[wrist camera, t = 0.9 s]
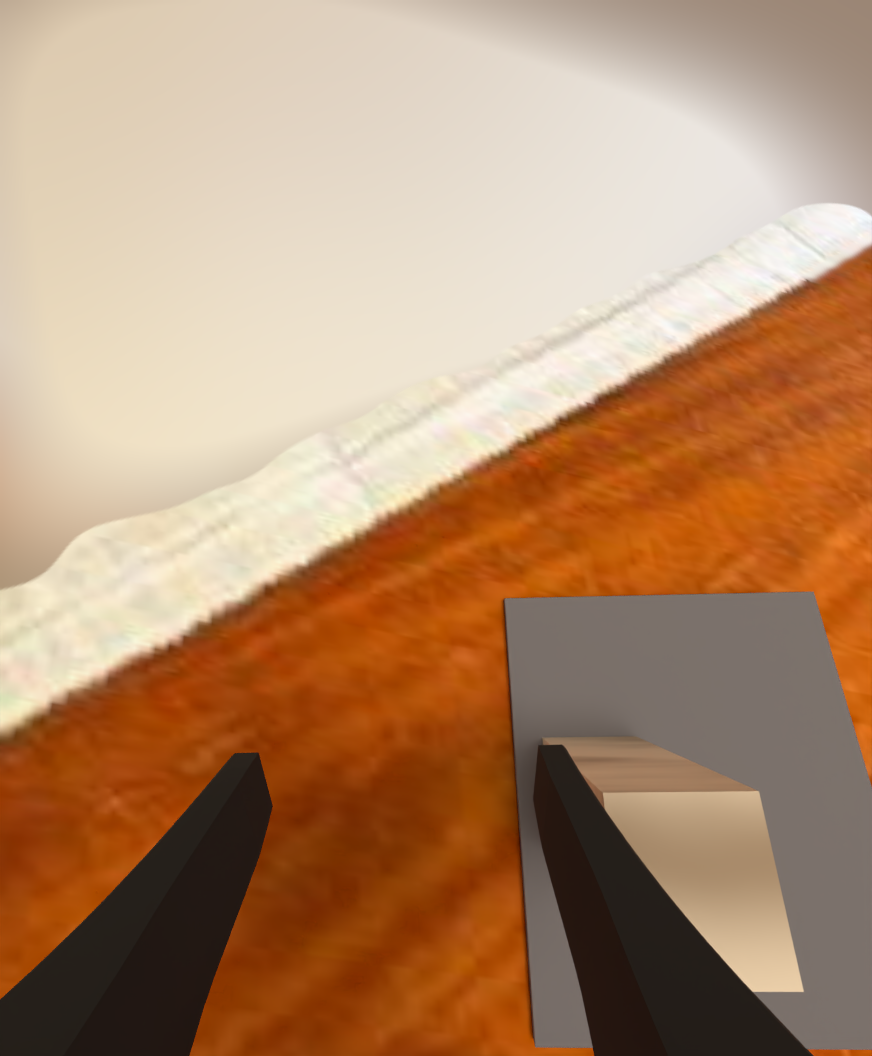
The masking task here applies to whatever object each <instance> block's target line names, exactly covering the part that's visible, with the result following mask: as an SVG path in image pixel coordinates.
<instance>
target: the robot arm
mask: <svg viewBox="0 0 872 1056" xmlns="http://www.w3.org/2000/svg"><path fill="white" fill-rule="evenodd" d="M533 802H534V808H535V813H536V819H537V825H538V830H539V835H540V840H541V846H542V850H543V853H544V857H545V861H546V865H547V868H548V872H549V875H550V879H551V883H552V886H553V890H554V894H555V897H556V901H557V904H558V908H559V912H560V915H561V919H562V922H563V926H564V930H565V933H566V937H567V940H568V944H569V948H570V951H571V955H572V958H573V962H574V966H575V970H576V974H577V978H578V982H579V986H580V990H581V994H582V998H583V1003H584V1008H585V1013H586V1017H587V1022H588V1027H589V1032H590V1037H591V1041H592V1046H593V1051H594V1056H813V1055H812V1054H811V1053H810V1052H809V1051H808V1050H807V1049H806V1048H805V1047H804V1046H803V1045H802V1043H801V1042H800V1041H799V1040H798V1039H797V1038H796V1037H795V1036H794V1035H793V1034H792V1033H791V1032H790V1031H789V1030H788V1029H787V1028H786V1027H785V1025H784V1024H783V1023H782V1022H781V1021H780V1020H779V1019H778V1018H777V1017H776V1016H775V1015H774V1014H773V1013H772V1012H771V1011H770V1010H769V1009H768V1008H767V1006H766V1005H765V1004H764V1003H763V1002H762V1001H761V1000H760V999H759V998H758V997H757V996H756V995H755V994H754V993H753V992H752V991H751V990H750V988H749V987H748V986H747V985H746V984H745V983H744V982H743V981H742V980H741V979H740V978H739V977H738V976H737V974H736V973H735V972H734V971H733V970H732V969H731V968H730V967H729V965H728V964H727V963H726V962H725V961H724V960H723V959H722V958H721V956H720V955H719V954H718V953H717V952H716V951H715V950H714V949H713V947H712V946H711V945H710V944H709V943H708V942H707V941H706V939H705V938H704V937H703V936H702V935H701V934H700V932H699V931H698V930H697V929H696V928H695V926H694V925H693V924H692V923H691V922H690V921H689V919H688V918H687V917H686V916H685V915H684V913H683V912H682V911H681V910H680V909H679V907H678V906H677V905H676V904H675V902H674V901H673V900H672V899H671V898H670V896H669V895H668V894H667V893H666V891H665V890H664V889H663V888H662V886H661V885H660V884H659V882H658V881H657V880H656V879H655V877H654V876H653V875H652V873H651V872H650V871H649V870H648V868H647V867H646V866H645V864H644V863H643V862H642V860H641V859H640V858H639V856H638V855H637V854H636V852H635V851H634V850H633V848H632V847H631V846H630V844H629V843H628V842H627V840H626V839H625V837H624V836H623V834H622V833H621V832H620V830H619V829H618V827H617V826H616V825H615V823H614V822H613V820H612V819H611V818H610V816H609V815H608V813H607V812H606V810H605V809H604V808H603V806H602V805H601V803H600V802H599V800H598V799H597V797H596V796H595V794H594V793H593V791H592V790H591V788H590V786H589V785H588V783H587V782H586V780H585V779H584V777H583V776H582V774H581V772H580V771H579V769H578V768H577V766H576V764H575V763H574V761H573V759H572V758H571V756H570V754H569V753H568V751H567V749H566V748H565V747H564V746H563V745H562V744H561V745H538V753H537V763H536V773H535V783H534V794H533ZM272 807H273V806H272V802H271V798H270V794H269V791H268V787H267V783H266V779H265V775H264V772H263V768H262V764H261V760H260V757H259V753H235V754H234V755H233V756H232V757H231V758H230V759H229V760H228V761H227V763H226V764H225V765H224V766H223V767H222V768H221V770H220V771H219V772H218V773H217V774H216V776H215V777H214V778H213V779H212V780H211V782H210V783H209V784H208V785H207V786H206V787H205V789H204V790H203V791H202V792H201V793H200V795H199V796H198V797H197V798H196V799H195V800H194V802H193V803H192V804H191V805H190V806H189V807H188V809H187V810H186V811H185V812H184V813H183V814H182V816H181V817H180V818H179V819H178V820H177V821H176V822H175V823H174V825H173V826H172V827H171V828H170V829H169V830H168V831H167V833H166V834H165V835H164V836H163V837H162V838H161V839H160V840H159V842H158V843H157V844H156V845H155V846H154V847H153V848H152V849H151V851H150V852H149V853H148V854H147V855H146V856H145V857H144V858H143V859H142V860H141V861H140V862H139V863H138V865H137V866H136V867H135V868H134V869H133V870H132V871H131V872H130V873H129V874H128V875H127V876H126V877H125V878H124V879H123V881H122V882H121V883H120V884H119V885H118V886H117V887H116V888H115V889H114V890H113V891H112V892H111V893H110V894H109V895H108V896H107V897H106V899H105V900H104V901H103V902H102V903H101V904H100V905H99V906H98V907H97V908H96V909H95V910H94V911H93V912H92V913H91V914H90V915H89V916H88V917H87V918H86V919H85V920H84V921H83V922H82V923H81V924H80V925H79V926H78V927H77V928H76V929H75V930H74V931H73V932H72V933H71V934H70V935H69V936H68V937H67V938H65V939H64V940H63V941H62V942H61V943H60V944H59V945H58V946H57V947H56V948H55V949H54V950H53V951H52V952H51V953H50V954H49V955H48V956H47V957H46V958H45V959H44V960H43V961H42V962H40V963H39V964H38V965H37V966H36V967H35V968H34V969H33V970H32V971H31V972H30V973H29V974H27V975H26V976H25V977H24V978H23V979H22V980H21V981H20V982H19V983H18V984H17V985H16V986H14V987H13V988H12V989H11V990H10V991H9V992H8V993H7V994H6V995H5V996H4V997H3V998H1V999H0V1056H189V1055H190V1052H191V1048H192V1045H193V1042H194V1038H195V1035H196V1032H197V1028H198V1025H199V1022H200V1018H201V1015H202V1012H203V1008H204V1005H205V1002H206V999H207V996H208V993H209V991H210V988H211V985H212V982H213V979H214V976H215V973H216V971H217V968H218V965H219V963H220V960H221V957H222V955H223V952H224V949H225V947H226V944H227V941H228V939H229V936H230V933H231V931H232V928H233V925H234V923H235V920H236V917H237V915H238V912H239V909H240V907H241V904H242V901H243V899H244V896H245V893H246V891H247V888H248V885H249V883H250V880H251V877H252V874H253V872H254V869H255V866H256V863H257V861H258V858H259V855H260V852H261V848H262V845H263V841H264V837H265V834H266V830H267V826H268V822H269V818H270V814H271V810H272Z"/></svg>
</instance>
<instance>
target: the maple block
mask: <svg viewBox="0 0 872 1056" xmlns="http://www.w3.org/2000/svg"><path fill="white" fill-rule="evenodd" d="M542 740H543V745H561V744H562V745H563V746H564V747H565V748H566V749H567V751H568V753H569V754H570V756H571V758H572V759H573V761H574V763H575V764H576V766H577V768H578V769H579V771H580V772H581V774H582V776H583V777H584V779H585V780H586V782H587V783H588V785H589V786H590V788H591V790H592V791H593V793H594V794H595V796H596V797H597V799H598V800H599V802H600V803H601V805H602V806H603V808H604V809H605V810H606V812H607V813H608V815H609V816H610V818H611V819H612V820H613V822H614V823H615V825H616V826H617V827H618V829H619V830H620V832H621V833H622V834H623V836H624V837H625V839H626V840H627V842H628V843H629V844H630V846H631V847H632V848H633V850H634V851H635V852H636V854H637V855H638V856H639V858H640V859H641V860H642V862H643V863H644V864H645V866H646V867H647V868H648V870H649V871H650V872H651V873H652V875H653V876H654V877H655V879H656V880H657V881H658V882H659V884H660V885H661V886H662V888H663V889H664V890H665V891H666V893H667V894H668V895H669V896H670V898H671V899H672V900H673V901H674V902H675V904H676V905H677V906H678V907H679V909H680V910H681V911H682V912H683V913H684V915H685V916H686V917H687V918H688V919H689V921H690V922H691V923H692V924H693V925H694V926H695V928H696V929H697V930H698V931H699V932H700V934H701V935H702V936H703V937H704V938H705V939H706V941H707V942H708V943H709V944H710V945H711V946H712V947H713V949H714V950H715V951H716V952H717V953H718V954H719V955H720V956H721V958H722V959H723V960H724V961H725V962H726V963H727V964H728V965H729V967H730V968H731V969H732V970H733V971H734V972H735V973H736V974H737V976H738V977H739V978H740V979H741V980H742V981H743V982H744V983H745V984H746V985H747V986H748V987H749V988H750V990H751V991H752V992H804V990H803V986H802V981H801V977H800V972H799V968H798V963H797V959H796V955H795V950H794V946H793V941H792V937H791V932H790V928H789V923H788V919H787V914H786V910H785V905H784V901H783V896H782V892H781V887H780V883H779V879H778V874H777V870H776V865H775V861H774V856H773V852H772V847H771V843H770V838H769V834H768V829H767V825H766V820H765V816H764V811H763V807H762V803H761V798H760V794H759V791H757V790H755V789H753V788H751V787H748V786H746V785H744V784H742V783H739V782H737V781H735V780H733V779H730V778H728V777H726V776H724V775H721V774H719V773H717V772H715V771H712V770H710V769H708V768H706V767H703V766H701V765H699V764H697V763H695V762H692V761H690V760H688V759H686V758H683V757H681V756H679V755H677V754H674V753H672V752H670V751H668V750H665V749H663V748H661V747H659V746H656V745H654V744H652V743H650V742H647V741H645V740H643V739H641V738H638V737H636V736H627V737H550V738H542Z"/></svg>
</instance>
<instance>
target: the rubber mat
mask: <svg viewBox="0 0 872 1056" xmlns="http://www.w3.org/2000/svg"><path fill="white" fill-rule="evenodd" d="M504 610H505V625H506V639H507V654H508V669H509V684H510V699H511V714H512V729H513V743H514V758H515V773H516V788H517V803H518V818H519V833H520V847H521V862H522V877H523V892H524V907H525V922H526V937H527V951H528V966H529V981H530V996H531V1011H532V1026H533V1038H534V1043H535V1047H562V1048H593V1046H592V1041H591V1037H590V1032H589V1027H588V1022H587V1017H586V1013H585V1008H584V1003H583V998H582V994H581V990H580V986H579V982H578V978H577V974H576V970H575V966H574V962H573V958H572V955H571V951H570V948H569V944H568V940H567V937H566V933H565V930H564V926H563V922H562V919H561V915H560V912H559V908H558V904H557V901H556V897H555V894H554V890H553V886H552V883H551V879H550V875H549V872H548V868H547V865H546V861H545V857H544V853H543V850H542V846H541V840H540V835H539V830H538V825H537V819H536V813H535V808H534V802H533V794H534V783H535V773H536V763H537V753H538V745H543V740H542V738H550V737H627V736H636V737H638V738H641V739H643V740H645V741H647V742H650V743H652V744H654V745H656V746H659V747H661V748H663V749H665V750H668V751H670V752H672V753H674V754H677V755H679V756H681V757H683V758H686V759H688V760H690V761H692V762H695V763H697V764H699V765H701V766H703V767H706V768H708V769H710V770H712V771H715V772H717V773H719V774H721V775H724V776H726V777H728V778H730V779H733V780H735V781H737V782H739V783H742V784H744V785H746V786H748V787H751V788H753V789H755V790H757V791H759V794H760V798H761V803H762V807H763V811H764V816H765V820H766V825H767V829H768V834H769V838H770V843H771V847H772V852H773V856H774V861H775V865H776V870H777V874H778V879H779V883H780V887H781V892H782V896H783V901H784V905H785V910H786V914H787V919H788V923H789V928H790V932H791V937H792V941H793V946H794V950H795V955H796V959H797V963H798V968H799V972H800V977H801V981H802V986H803V990H804V992H753V993H754V994H755V995H756V996H757V997H758V998H759V999H760V1000H761V1001H762V1002H763V1003H764V1004H765V1005H766V1006H767V1008H768V1009H769V1010H770V1011H771V1012H772V1013H773V1014H774V1015H775V1016H776V1017H777V1018H778V1019H779V1020H780V1021H781V1022H782V1023H783V1024H784V1025H785V1027H786V1028H787V1029H788V1030H789V1031H790V1032H791V1033H792V1034H793V1035H794V1036H795V1037H796V1038H797V1039H798V1040H799V1041H800V1042H801V1043H802V1045H803V1046H804V1047H805V1048H806V1049H854V1050H872V787H871V784H870V780H869V777H868V774H867V770H866V767H865V763H864V760H863V757H862V753H861V750H860V747H859V743H858V740H857V736H856V733H855V730H854V726H853V723H852V720H851V716H850V713H849V710H848V706H847V703H846V699H845V696H844V693H843V689H842V686H841V683H840V679H839V676H838V673H837V669H836V666H835V662H834V659H833V656H832V652H831V649H830V646H829V642H828V639H827V636H826V632H825V629H824V625H823V622H822V619H821V615H820V612H819V609H818V605H817V602H816V599H815V595H814V592H780V593H734V594H688V595H642V596H596V597H550V598H505V599H504Z"/></svg>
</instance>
